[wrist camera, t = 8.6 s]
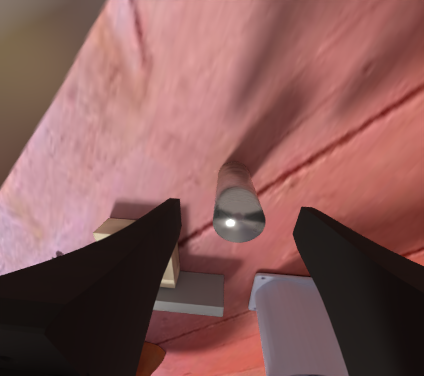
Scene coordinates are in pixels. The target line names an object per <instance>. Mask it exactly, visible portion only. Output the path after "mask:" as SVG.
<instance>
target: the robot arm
mask: <svg viewBox="0 0 424 376" xmlns="http://www.w3.org/2000/svg"><path fill="white" fill-rule="evenodd" d="M181 226H182V225H181V210H180V199H174V198H169V199H168V200H166V201H165V202H163V203H162V204H161V205H159V206H158V207H156V208H155V209H153V210H152V211H150V212H149V213H148V214H146V215H144V216H143V217H141V218H140V219H138V220H136V221H135V222H133V223H132V224H130V225H128V226H127V227H125V228H123V229H121V230H119V231H117V232H115V233H113V234H111V235H109V236H107V237H105V238H103V239H101V240H98V241H96V242H94V243H92V244H89V245H87V246H85V247H83V248H80V249H78V250H75V251H73V252H70V253H67V254H65V255H62V256H59V257H57V258H54V259H51V260H48V261H45V262H42V263H39V264H36V265H33V266H30V267H27V268H24V269H20V270H17V271H14V272H11V273H8V274H5V275H1V276H0V376H136V372H137V368H138V364H139V360H140V356H141V352H142V348H143V345H144V341H145V337H146V333H147V329H148V326H149V322H150V319H151V315H152V311H153V308H154V304H155V301H156V298H157V294H158V291H159V288H160V284H161V281H162V278H163V276H164V273H165V271H166V268H167V266H168V263H169V261H170V258H171V256H172V253H173V251H174V248H175V246H176V243H177V241H178V237H179V234H180V230H181ZM293 237H294V240H295V243H296V246H297V249H298V251H299V253H300V255H301V257H302V259H303V261H304V263H305V265H306V267H307V269H308V271H309V273H310V275H311V277H302V276H291V275H279V274H268V273H256V274H255V278H254V282H253V287H252V291H251V295H250V300H249V304H248V309H249V310H253V311H257V317H258V324H259V331H260V337H261V344H262V351H263V357H264V364H265V370H266V376H424V266H422V265H420V264H417V263H415V262H413V261H411V260H409V259H407V258H405V257H403V256H400V255H398V254H396V253H394V252H392V251H390V250H388V249H386V248H384V247H382V246H380V245H378V244H377V243H375V242H373V241H371V240H369V239H367V238H365V237H364V236H362V235H360V234H358V233H357V232H355V231H353V230H351V229H350V228H348V227H346V226H344V225H343V224H341V223H339V222H338V221H336V220H334V219H333V218H331V217H329V216H328V215H326V214H324V213H322V212H321V211H319V210H317V209H315V208H313V207H301V210H300V213H299V216H298V219H297V222H296V225H295V228H294V231H293Z"/></svg>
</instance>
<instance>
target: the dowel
mask: <svg viewBox="0 0 424 376" xmlns="http://www.w3.org/2000/svg"><path fill="white" fill-rule="evenodd" d="M213 226H214V229H215V231H216V232H217V234H218V235H219V236H220V237H222V238H223V239H225V240H228V241H231V242H239V243H240V242H247V241H250V240H252V239H254V238H256V237H257V236H259V235H260V234H261V232H262V231H263V229H264V227H265V216H264V213H263V210H262V207H261V205H260V202H259V199H258V196H257V193H256V191H255V188H254V185H253V182H252V180H251V177H250V174H249V171H248V169H247V168H246V166H245V165H243V164H242V163H239V162H229V163H226V164H225V165H223V166H222V167H221V169H220V170H219V173H218V180H217V189H216V198H215V207H214V216H213Z"/></svg>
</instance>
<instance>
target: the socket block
mask: <svg viewBox="0 0 424 376" xmlns="http://www.w3.org/2000/svg"><path fill="white" fill-rule="evenodd" d="M135 221H136V220H127V219H114V218H108V219H107V220H106V221H105V222H104V223H103V224H102V225H101V226H100V227H99V228H98V229H96V230H95V231H94V232H93V235H94V237H95V240H96V241H98V240H101V239H103V238H105V237H107V236H109V235H111V234H113V233H115V232H117V231H119V230H121V229H123V228H125V227H127V226H128V225H130V224H132V223H133V222H135ZM179 272H180V264H179V252H178V241H177V243H176V246H175V248H174V251H173V253H172V256H171V258H170V261H169V263H168V266H167V268H166V271H165V273H164V276H163V278H162V281H161V284H160V287H167V288H175V286H176V283H177V279H178V275H179Z"/></svg>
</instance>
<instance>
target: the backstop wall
mask: <svg viewBox="0 0 424 376" xmlns="http://www.w3.org/2000/svg"><path fill="white" fill-rule="evenodd" d="M223 309H224V275H217V274H206V273H195V272H184V271H180V272H179V275H178V279H177V283H176V286H175V288H167V287H160V288H159V291H158V294H157V298H156V301H155V304H154V308H153V310H159V311H169V312H179V313H188V314H198V315H208V316H218V317H223Z"/></svg>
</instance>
